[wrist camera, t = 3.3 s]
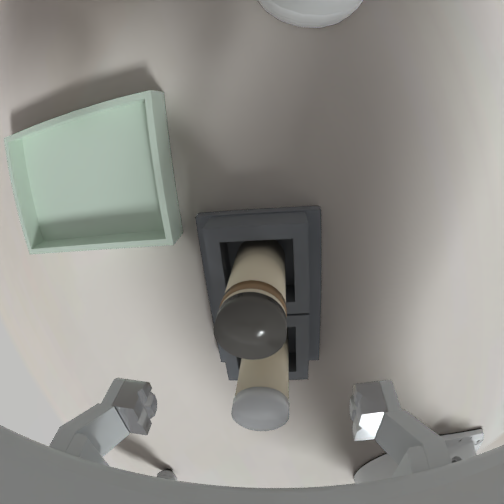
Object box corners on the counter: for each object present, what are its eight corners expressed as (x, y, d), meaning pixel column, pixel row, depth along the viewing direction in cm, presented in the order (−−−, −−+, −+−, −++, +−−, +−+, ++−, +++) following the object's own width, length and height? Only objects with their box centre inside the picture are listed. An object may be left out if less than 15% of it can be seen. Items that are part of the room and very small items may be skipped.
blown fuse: (284, 233, 23) (285, 301, 15) (286, 278, 25) (287, 359, 16) (233, 236, 24) (208, 303, 15) (238, 280, 25) (219, 359, 17)
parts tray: (163, 92, 20) (150, 90, 18) (183, 232, 25) (173, 244, 23) (21, 134, 22) (3, 138, 20) (44, 244, 27) (29, 254, 24)
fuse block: (319, 205, 23) (325, 220, 20) (317, 352, 29) (320, 379, 25) (198, 212, 24) (186, 228, 21) (222, 354, 30) (216, 380, 26)
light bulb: (141, 463, 42) (121, 519, 32) (166, 458, 40) (147, 521, 29) (171, 481, 44) (156, 535, 33) (198, 476, 42) (184, 537, 31)
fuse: (288, 314, 26) (288, 397, 18) (289, 347, 27) (289, 430, 19) (243, 315, 26) (227, 397, 18) (247, 348, 28) (235, 430, 20)
